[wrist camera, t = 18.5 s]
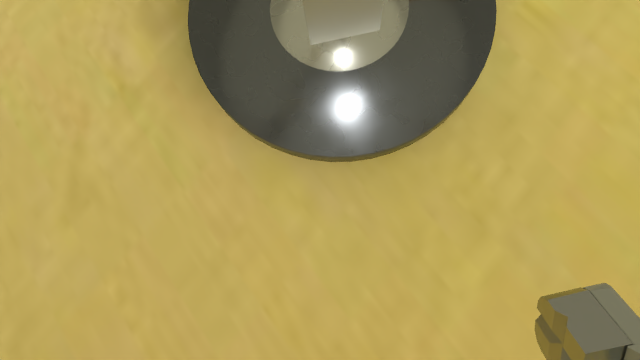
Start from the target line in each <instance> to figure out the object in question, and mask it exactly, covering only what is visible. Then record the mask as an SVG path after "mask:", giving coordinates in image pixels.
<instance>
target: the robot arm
mask: <svg viewBox="0 0 640 360" xmlns="http://www.w3.org/2000/svg"><path fill="white" fill-rule="evenodd" d="M537 309H538V310H539V312H540V313H541V315H540V316H539V317H538V318H537V319H536V320H535V334H536V338H537V342H538V344H539V347H540V349H541V351H542V353H543V354H544V356H545V358H546V359H547V360H640V318H639V317H638V316H637V315H636V314H635V313H634V311H633V310H632V309H631V308H630V307H629V306H628V305H627V304H626V302H625V301H624V300H623V299H622V298H621V297H620V296H619V295H618V293H617V292H616V291H615V290H614V289H613V288H612V287H611V286H610V285H608V284H606V283H601V284H597V285H592V286H588V287H584V288H576V289H572V290H568V291H563V292H559V293H555V294H551V295H546V296H542V297H540V299H539V300H538V304H537Z"/></svg>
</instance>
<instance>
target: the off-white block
mask: <svg viewBox="0 0 640 360" xmlns="http://www.w3.org/2000/svg"><path fill="white" fill-rule="evenodd" d="M301 1H302V6H303V11H304V15H305V20H306V25H307V29H308V34H309V39H310V44H311V45H314V44H318V43H323V42H328V41H332V40H337V39H341V38H346V37H351V36H355V35H360V34H364V33H369V32H374V31H378V30H380V25H381V16H382V7H383V0H301Z"/></svg>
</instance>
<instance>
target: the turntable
mask: <svg viewBox="0 0 640 360" xmlns="http://www.w3.org/2000/svg"><path fill="white" fill-rule="evenodd" d="M495 24H496V0H383V7H382V16H381V25H380V30H378V31H374V32H369V33H364V34H360V35H355V36H351V37H346V38H341V39H337V40H332V41H328V42H323V43H318V44H314V45H311V44H310V39H309V34H308V29H307V25H306V20H305V15H304V11H303V6H302V1H301V0H190V1H189V13H188V28H189V39H190V44H191V48H192V53H193V57H194V60H195V62H196V65H197V68H198V70H199V73H200V75H201V77H202V79H203V80H204V82H205V84H206V86H207V88H208V89H209V91H210V92H211V94H212V95H213V96H214V98H215V99H216V100H217V102H218V103H219V104H220V105H221V107H222V108H223V109H224V111H225V112H226V113H227V114H228V115H229V116H230V117H231V118H232V119H233V120H234V121H235V122H236V123H237V124H238V125H239V126H240V127H241V128H242V129H244V130H245V131H247V132H248V133H249V134H251V135H252V136H253V137H255V138H256V139H258V140H260V141H261V142H263V143H265V144H267V145H269V146H271V147H272V148H275V149H277V150H280V151H282V152H285V153H288V154H290V155H294V156H298V157H302V158H306V159H310V160H318V161H327V162H351V161H358V160H365V159H372V158H375V157H379V156H382V155H386V154H390V153H393V152H395V151H397V150H400V149H402V148H404V147H407V146H409V145H411V144H413V143H415V142H416V141H418V140H420V139H421V138H423V137H425V136H427V135H428V134H429V133H431V132H432V131H433V130H435V129H436V128H437V127H438V126H440V125H441V124H442V123H443V122H444V121H445V120H446V119H447V118H448V117H449V116H450V115H451V114H452V113H453V112H454V111H455V110H456V109H457V108H458V107H459V105H460V104H461V103H462V101H463V100H464V99H465V97H466V96H467V95H468V93H469V92H470V90H471V89H472V87H473V86H474V84H475V82H476V81H477V79H478V77H479V75H480V73H481V71H482V70H483V68H484V66H485V63H486V60H487V58H488V55H489V52H490V50H491V46H492V42H493V37H494V32H495Z"/></svg>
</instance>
